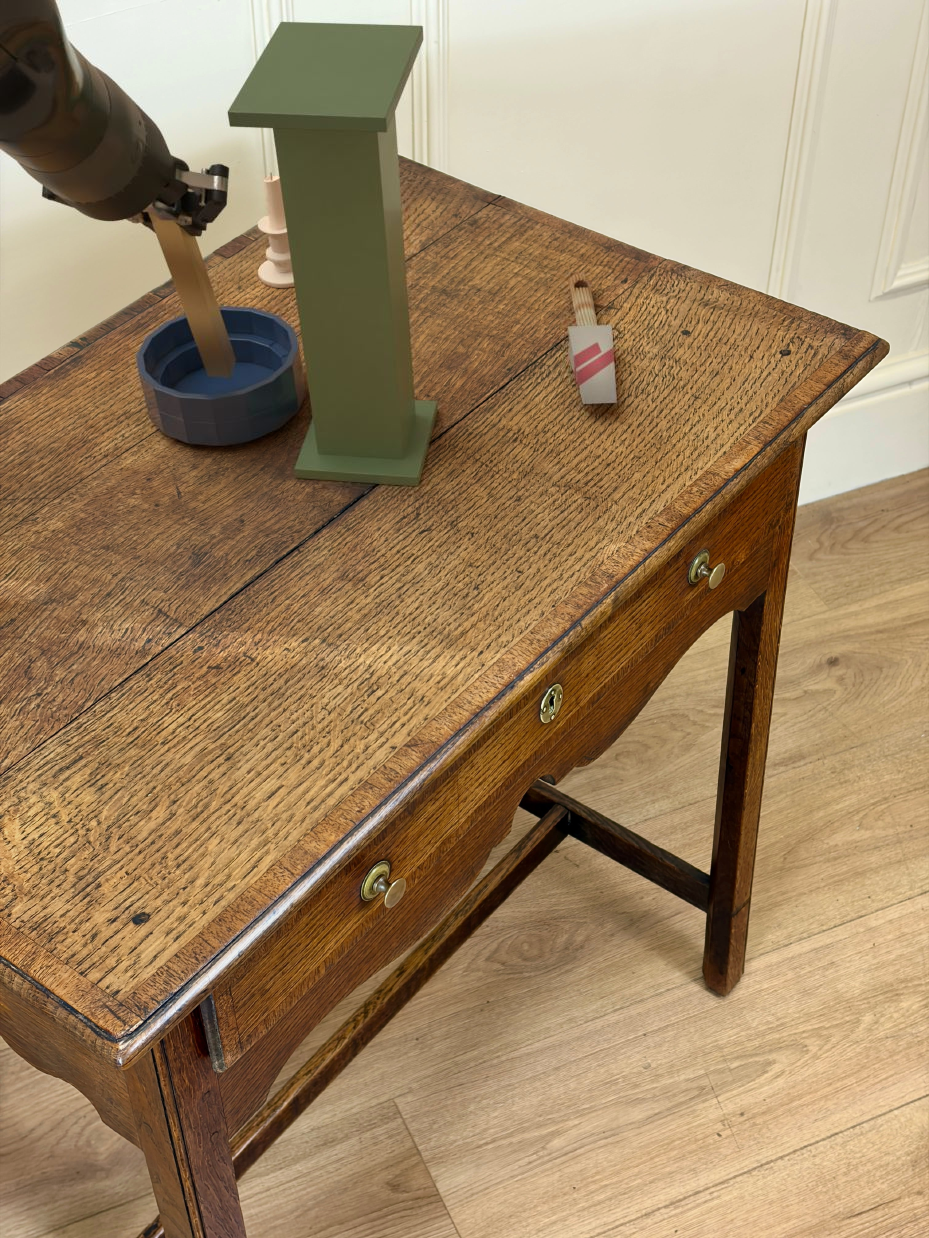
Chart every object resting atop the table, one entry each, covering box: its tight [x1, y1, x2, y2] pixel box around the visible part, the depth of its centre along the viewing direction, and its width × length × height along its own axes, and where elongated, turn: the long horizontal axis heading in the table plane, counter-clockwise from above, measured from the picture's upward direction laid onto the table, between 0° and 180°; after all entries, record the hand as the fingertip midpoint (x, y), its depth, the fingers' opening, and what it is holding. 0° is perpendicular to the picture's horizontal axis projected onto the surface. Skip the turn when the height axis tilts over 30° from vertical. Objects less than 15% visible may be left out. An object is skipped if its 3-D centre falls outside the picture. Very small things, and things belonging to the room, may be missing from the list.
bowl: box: [135, 305, 307, 447], centre depth 109 cm, size 13×13×6 cm
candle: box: [257, 172, 295, 289], centre depth 122 cm, size 5×5×10 cm
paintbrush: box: [567, 272, 618, 405], centre depth 114 cm, size 4×3×20 cm
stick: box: [148, 212, 236, 378], centre depth 99 cm, size 21×2×2 cm
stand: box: [227, 21, 439, 487], centre depth 96 cm, size 10×14×31 cm
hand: (180, 222), depth 96 cm, fingers closed on stick, 2 cm apart
